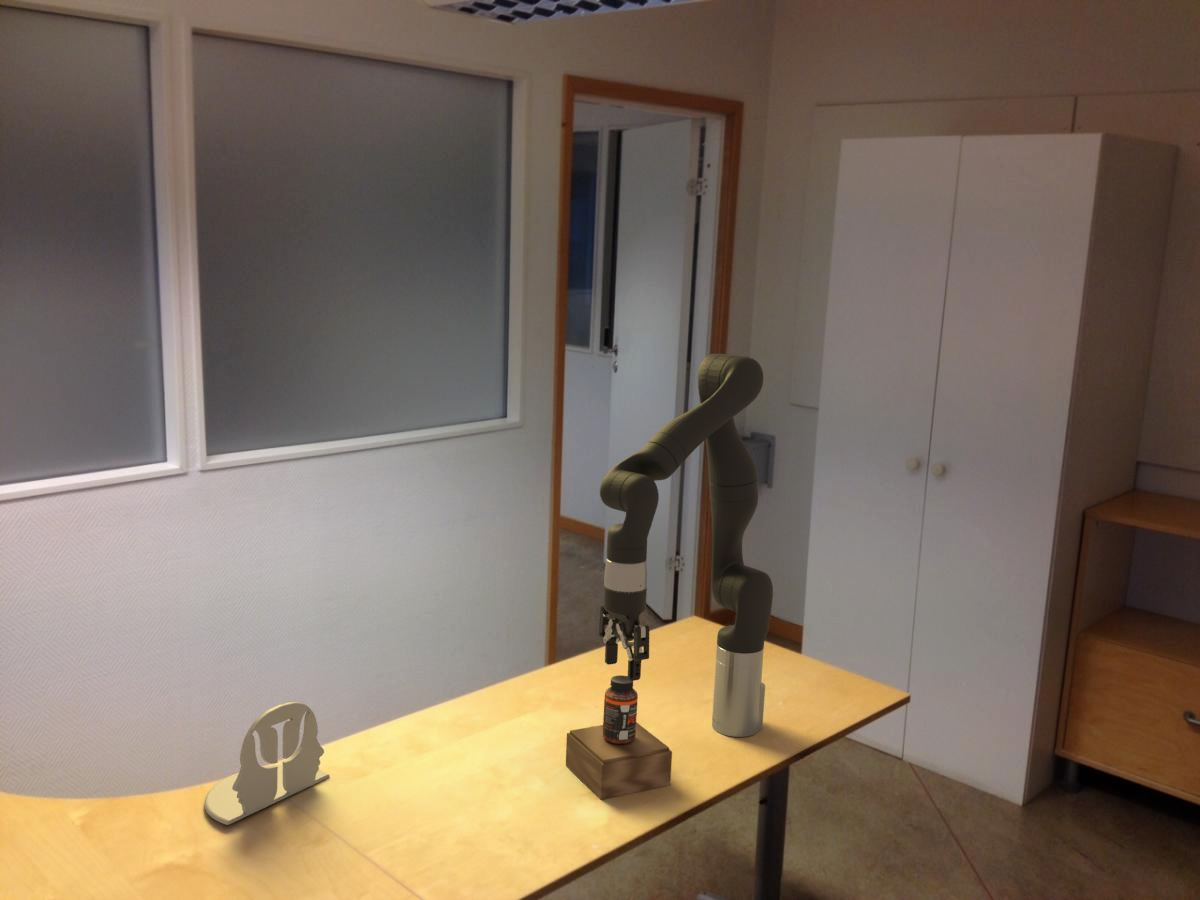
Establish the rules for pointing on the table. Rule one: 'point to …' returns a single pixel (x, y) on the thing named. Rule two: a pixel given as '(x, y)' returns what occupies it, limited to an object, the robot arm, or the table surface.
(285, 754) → the ornament
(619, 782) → the walnut block
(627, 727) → the supplement bottle
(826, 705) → the table surface
